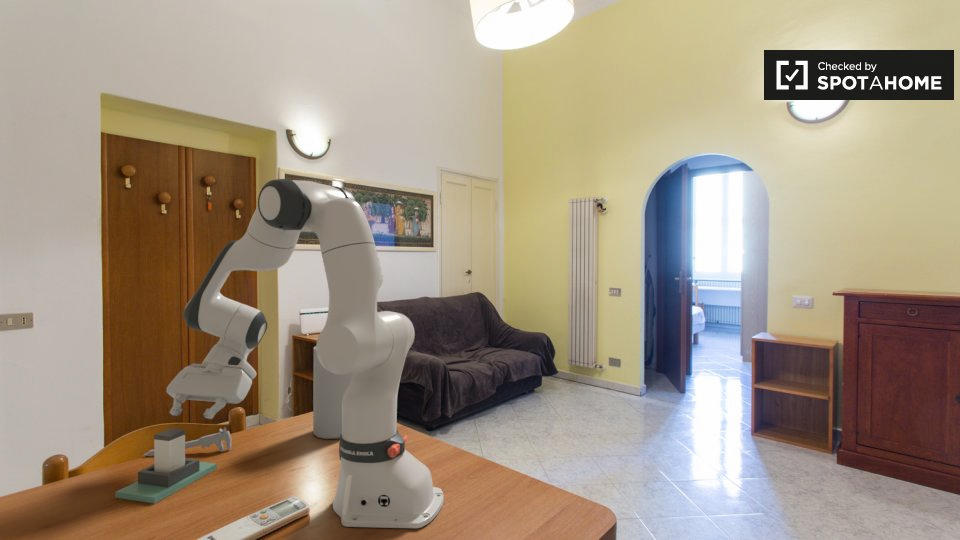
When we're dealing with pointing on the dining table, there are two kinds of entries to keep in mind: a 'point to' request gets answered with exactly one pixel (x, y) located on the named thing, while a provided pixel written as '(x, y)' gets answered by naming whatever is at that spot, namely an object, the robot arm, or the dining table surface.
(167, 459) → the plug
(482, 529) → the dining table surface
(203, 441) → the caliper
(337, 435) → the cylinder vase
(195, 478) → the socket
